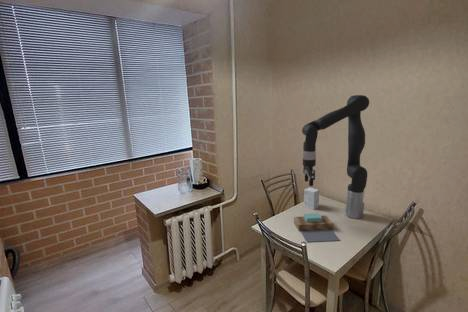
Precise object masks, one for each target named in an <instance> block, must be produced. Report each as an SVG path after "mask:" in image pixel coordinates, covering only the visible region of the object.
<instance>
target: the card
mask: <svg viewBox="0 0 468 312" xmlns="http://www.w3.org/2000/svg"><path fill="white" fill-rule="evenodd" d="M303 216H304V219H305V220H306V222H322V217H321V216H322V215H321V214H320V213H319V212H317V213H313V212H312V213H303Z"/></svg>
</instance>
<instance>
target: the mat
mask: <svg viewBox="0 0 468 312" xmlns="http://www.w3.org/2000/svg"><path fill="white" fill-rule="evenodd" d="M300 233H301V235H302V237H303V238H304V240H305V241H306V243H320V242H321V243H324V242H340V241H341V239H340V238H339V236H337V234H336V233H335V232H334V231H333V230H311V231H300Z"/></svg>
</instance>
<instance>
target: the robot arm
mask: <svg viewBox="0 0 468 312" xmlns="http://www.w3.org/2000/svg"><path fill="white" fill-rule="evenodd" d="M369 105H370V99H369V97H367V96H366V95H361V94H356V95H351V96H350V97H349V98H348V99H347V102H346V105H345V106H343V107H341V108H338V109H336V110H333V111H331V112H328V113H326V114H325V115H323V116H321V117H319V118H317V119H315V120H313V121H311V122H309V123H306V124H304V126H302V129H301V132H302V134H303V135H304V136H305V140H304V142H303V145H302V146H303V147H302V148H303V151H302V166H303V171H302V172H303V175H304V182H308V186H309V187H313V186H314V181H315V180H316V169H314V167H315V166H316V164H317V163H316V162H317V161H316V160H317V152H316V147H317V146H316V144H317V141H318V140H317V139H318V135H319V132H318V131H321V130H326V129H327V128H330V127H331V126H333V125H335V124H336V123H339V122H340V121H342V120H343V119H346V118H347V121H348V124H347V125H348V126H347V128H348V129H347V131H348V135H347V145H348V146H347V149H348V150H347V153H348V154H347V166H346V174H347V176H348V177H349V178H350V179H351V183H349V184H348V185H347V193H346V205H345V206H346V207H345V215H346V217H347V218H351V219H354V220H355V219H356V220H358V219H361V218H363V217H364V210H365V202H364V196H365V195H364V194H365V189H366V186H367V181H368V171H367V169H366V168H365V167H363V166H362V165H361V154H362V153H363V150H364V148H365V145H366V131H365V128H364V125H363V123H362V119H361V117H362V116H361V112H364V111H365V110H367V108H368V107H369Z"/></svg>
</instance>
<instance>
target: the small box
mask: <svg viewBox="0 0 468 312" xmlns="http://www.w3.org/2000/svg"><path fill="white" fill-rule="evenodd" d="M303 191H304V195H303V196H304V197H303V207H305V208H307V209H309V210H313V211H314V210H316V209H318V208H319V207H320V206H319V205H320V203H319V202H320V189H317V188H313V187H311V186H309V187H307V188H305V189H304V190H303Z"/></svg>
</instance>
